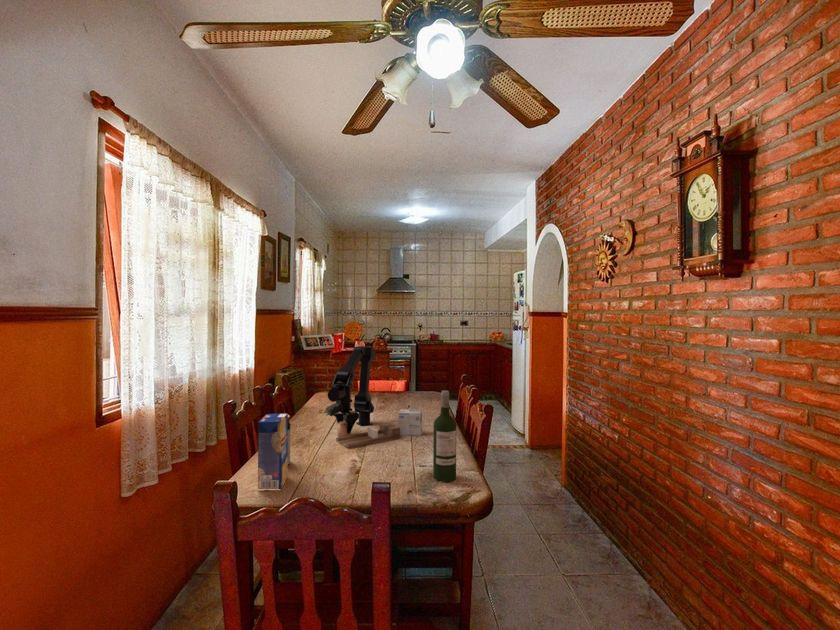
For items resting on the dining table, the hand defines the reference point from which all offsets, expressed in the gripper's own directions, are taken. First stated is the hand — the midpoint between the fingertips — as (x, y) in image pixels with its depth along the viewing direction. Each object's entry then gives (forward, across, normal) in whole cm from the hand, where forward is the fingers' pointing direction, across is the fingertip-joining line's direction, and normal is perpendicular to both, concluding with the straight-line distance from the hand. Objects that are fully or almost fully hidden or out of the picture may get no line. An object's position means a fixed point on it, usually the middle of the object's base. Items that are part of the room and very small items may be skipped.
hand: (344, 431), depth 195 cm
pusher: (+2, +12, +8) cm, 15 cm away
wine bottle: (+2, +66, +7) cm, 66 cm away
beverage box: (+2, +38, -43) cm, 57 cm away
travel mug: (+2, +20, -36) cm, 41 cm away
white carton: (+2, +14, +27) cm, 31 cm away
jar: (+2, 0, 0) cm, 2 cm away
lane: (+2, +12, +6) cm, 14 cm away
